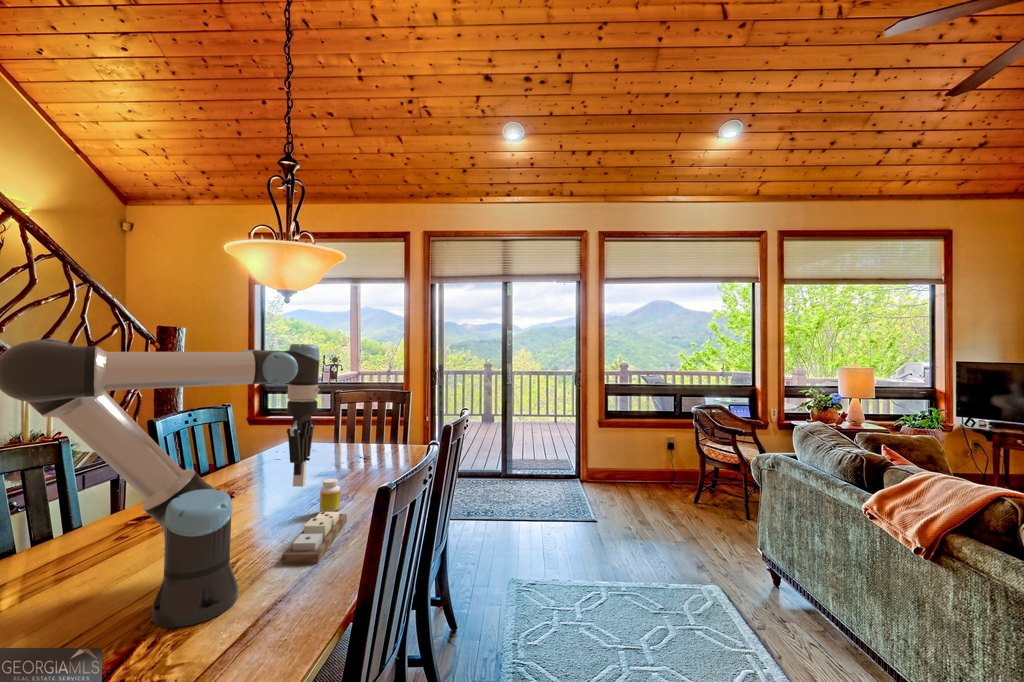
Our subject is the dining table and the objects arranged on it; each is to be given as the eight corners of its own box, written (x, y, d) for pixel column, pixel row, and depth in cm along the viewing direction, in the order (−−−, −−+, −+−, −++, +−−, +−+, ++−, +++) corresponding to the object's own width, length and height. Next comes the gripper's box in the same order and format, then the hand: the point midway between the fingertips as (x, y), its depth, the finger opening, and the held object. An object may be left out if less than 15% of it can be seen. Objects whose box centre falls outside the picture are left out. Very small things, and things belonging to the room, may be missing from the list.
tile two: (325, 537, 125) (325, 525, 125) (303, 537, 124) (304, 525, 124) (331, 528, 130) (331, 517, 130) (311, 528, 130) (311, 517, 130)
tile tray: (317, 563, 114) (318, 554, 114) (281, 564, 113) (282, 554, 113) (346, 521, 141) (346, 514, 141) (317, 522, 140) (317, 514, 140)
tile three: (333, 529, 133) (333, 518, 133) (313, 529, 132) (313, 518, 132) (339, 521, 138) (339, 511, 138) (320, 522, 138) (320, 511, 138)
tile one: (315, 555, 117) (315, 542, 117) (292, 555, 116) (292, 542, 116) (322, 545, 122) (322, 532, 122) (300, 545, 122) (301, 533, 122)
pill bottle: (342, 513, 148) (343, 480, 148) (324, 518, 143) (325, 484, 143) (334, 508, 152) (335, 476, 152) (316, 513, 148) (317, 480, 148)
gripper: (307, 403, 115) (303, 493, 115) (325, 397, 128) (321, 478, 128) (277, 402, 115) (273, 493, 114) (298, 396, 128) (295, 478, 127)
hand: (299, 485), depth 121 cm, fingers closed
